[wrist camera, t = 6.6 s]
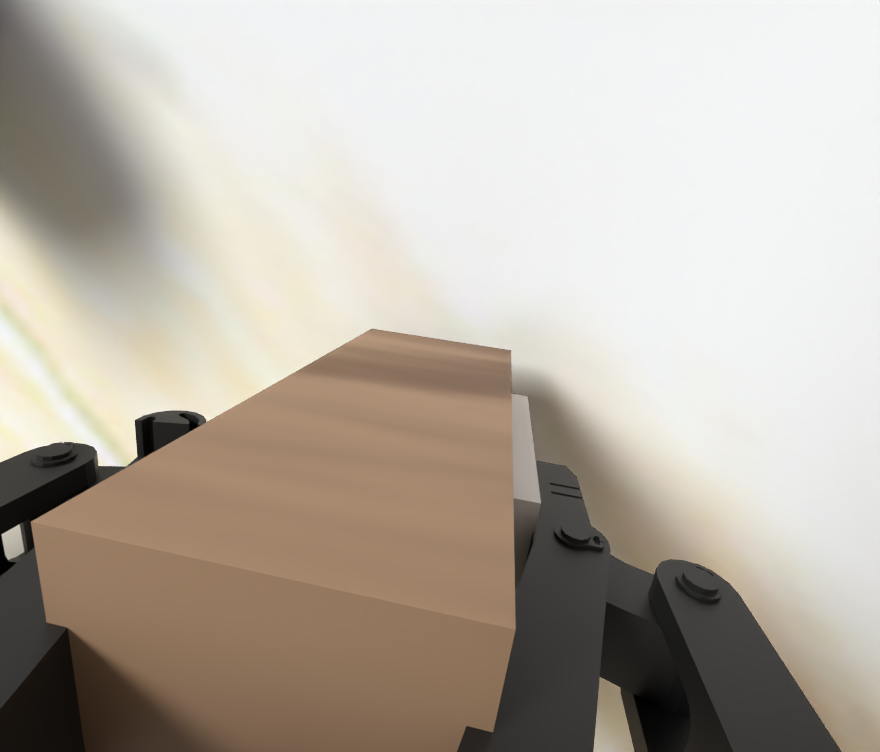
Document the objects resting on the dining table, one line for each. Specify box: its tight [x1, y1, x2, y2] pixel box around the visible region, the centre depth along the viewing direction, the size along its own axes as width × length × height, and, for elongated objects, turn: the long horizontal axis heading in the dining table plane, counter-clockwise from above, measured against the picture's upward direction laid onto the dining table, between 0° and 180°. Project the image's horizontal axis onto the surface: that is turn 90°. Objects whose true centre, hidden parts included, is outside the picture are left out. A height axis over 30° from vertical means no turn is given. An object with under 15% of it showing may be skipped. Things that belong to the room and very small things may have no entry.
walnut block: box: [31, 329, 516, 752], centre depth 11 cm, size 5×5×12 cm
